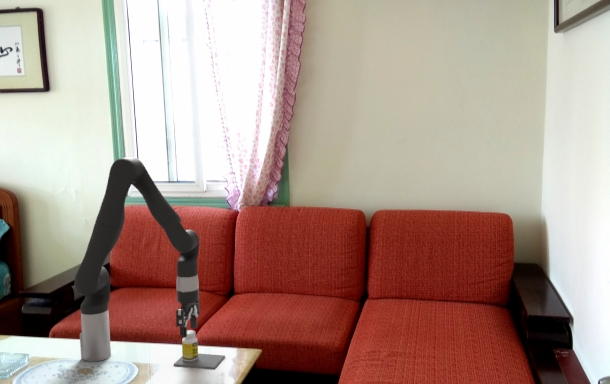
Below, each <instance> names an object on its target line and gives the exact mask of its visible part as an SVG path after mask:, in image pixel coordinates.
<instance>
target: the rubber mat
mask: <svg viewBox="0 0 610 384" xmlns="http://www.w3.org/2000/svg"><path fill="white" fill-rule="evenodd" d="M224 357H225V358H226V355H222V354H221V355H220V354H211V353H208V354H207V353H198V359H196V360H195V361H184V360H183V356H181V357H180V358H178V360H176V361H175V362H174V363H173V366H174V367H185V368H196V369H208V370H209V369H210V370H215V369H216V368H217V367H218V366H219V364H220V363H222V361H223V360H224V359H225V358H224ZM223 358H224V359H223Z"/></svg>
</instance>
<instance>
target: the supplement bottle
mask: <svg viewBox="0 0 610 384" xmlns="http://www.w3.org/2000/svg"><path fill="white" fill-rule="evenodd" d="M198 343H199V340H198V338H197V336H196V331H195V330H193V329H187V336H186V337H182V341H181V347H182V348H181V350H182V351H181V352H182V353H181V354H182V356H183V360H184V361H195V360H196V359H198V354H199V345H198ZM182 356H181V357H182Z"/></svg>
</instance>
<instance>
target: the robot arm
mask: <svg viewBox="0 0 610 384" xmlns="http://www.w3.org/2000/svg"><path fill="white" fill-rule="evenodd" d="M107 178H108V179H107V183H106V188H105V193H104V195H103V199H102V201H101V204H100V207H99V211H98V213H97V216H96V218H95V223H94V225H93V228H92V231H91V236H90V238H89V242H88V244H87V248H86V250H85V251H86V252H85V253H84V256H83V259H82V261H81V263H80V266H79V268H78V270H77V271H76V274H75V277H74V282H73V283H74V289H75V290H76V292H77V293H78V294H79V295H81V296H84V299H83V301H82V302H81V304H80V317H81V320H80V321H81V332H80V333H79V343H80V346H79V347H80V359H82V360H84V361H86V362H90V363H93V362H100V361H103V360H106V359H108V358H110V357H111V356H112V350H111V349H112V348H111V334H110V333H111V331H110V318H109V303H110V299H111V288H110V287H111V281H110V280H111V279H110V275H109V271H108V270H107V268H106V267H105V266H104V264H105V261H106V259H107V258H108V256H109V255H110V254H111V252H112V251H113V249H114V248H115V246H116V245H117V243H118V241H119V239H120V237H121V234H122V230H123V228H124V224H125V221H126V220H125V219H126V211H125V209H126V207H125V204H126V200H127V199H126V198H127V196H128V193H129V190H130V188H131V186H133V187H134V188H135V189H136V190H137V191H138V192H139V193H140V194H141V196H142V198H143V199H144V202H145V204H146V206H147V208H148V210H149V212H150V215H151V216H152V218H153V219H154V220H155V221H156V222H157V224H158V225H159V226H160V227H161V228H162V229H163V231H164V233H165V234H166V237H167V238H168V240H169V242H170V244H171V245H172V246H173V248H174V249H175V250H176V251H177V252H179V257H178V259H177V262H176V301H177V303H179V304H180V309H179V308H178V309H176V310H175V317H176V318H175V322H176V324H175V326H176V327H179V336H180V338H184V337H186V336H187V331H188V328H187V327H188V323H189V322H188V321H190V329H197V328H198V317H199V315H200V312H201V308H200V307H201V306H200V305H201V304H200V295H199V294H200V293H199V292H200V288H199V284H200V282H199V275H198V274H199V273H198V258H199V250H200V237H199V234H198V233H197V231H195V230H193V229H186V228H184V226H183V224H182V218H181V217H180V215H179V214H178V213H177V212H176V210H175V209H174V208H173V206H171V204H170V202H168V201H167V199H166V197H165V196H164V195H163V194H162V193H161V191H160V189H159V188H158V187H157V185H156V183H155V182H154V180H153V178H152V177H151V175H150V174H149V172H148V170H147V168H146V167H145V165H144V164H143V162H142V161H141V160H140V159H139V158H137V157H135V156H126V157H121V158H118V159H116V160H114V162H113V163H112V165H111V166H110V169H109V174H108V177H107Z"/></svg>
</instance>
